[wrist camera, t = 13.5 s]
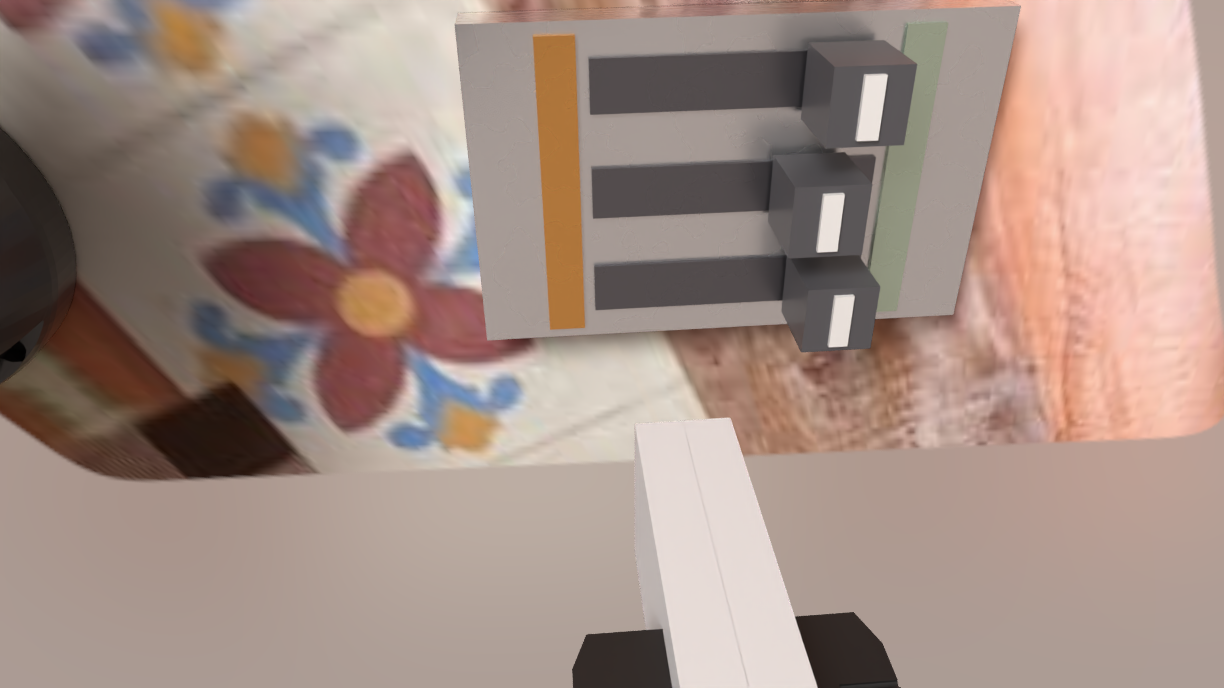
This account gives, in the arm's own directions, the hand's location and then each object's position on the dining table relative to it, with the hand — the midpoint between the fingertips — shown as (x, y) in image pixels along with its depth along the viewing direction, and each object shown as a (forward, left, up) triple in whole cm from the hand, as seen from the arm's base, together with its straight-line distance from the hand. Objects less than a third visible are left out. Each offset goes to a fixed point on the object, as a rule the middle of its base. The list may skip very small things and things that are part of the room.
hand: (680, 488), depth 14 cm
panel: (+6, -5, -26) cm, 28 cm away
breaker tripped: (+9, -5, -24) cm, 26 cm away
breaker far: (+10, -10, -24) cm, 28 cm away
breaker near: (+10, 0, -24) cm, 26 cm away
